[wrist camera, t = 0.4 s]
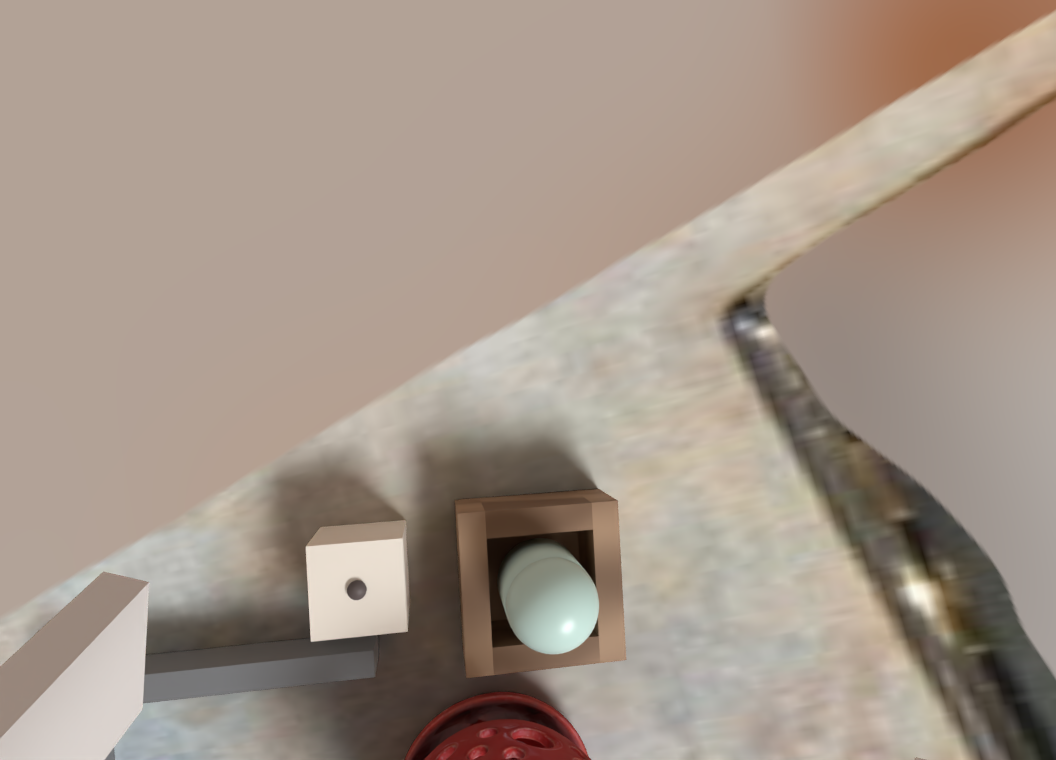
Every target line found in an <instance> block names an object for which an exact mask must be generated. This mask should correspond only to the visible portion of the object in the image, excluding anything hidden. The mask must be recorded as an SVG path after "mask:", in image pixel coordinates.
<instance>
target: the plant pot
mask: <svg viewBox="0 0 1056 760" xmlns="http://www.w3.org/2000/svg"><path fill="white" fill-rule="evenodd" d="M405 760H591V759H590V758H589V757H588V754H587V751H586V748H585V746H584V744H583V742H582V740H581V738H580V736H579V735H578V733H577V731H576V730H575V729H574V727H573V726H572V724H571V723H570V722H569V721H568V720H567V719H566V718H565V717H564V716H563V715H562V714H561V713H559V712H558V711H557V710H556V709H554V708H553V707H551V706H550V705H548V704H546V703H545V702H543V701H540V700H538V699H536V698H533V697H531V696H527V695H524V694H520V693H514V692H494V693H486V694H481V695H477V696H474V697H471V698H468V699H465V700H463V701H461V702H458V703H456V704H454V705H452V706H451V707H449V708H447V709H446V710H444V711H443V712H441V713H440V714H439V715H437V716H436V717H435V718H434V719H433V720H432V721H431V722H429V723H428V724H427V725H426V726H425V728H424V729H423V730H422V731H421V732H420V734H419V735H418V736H417V738H416V739H415V740H414V742H413V744H412V745H411V747H410V749H409V751H408V753H407V755H406V757H405Z"/></svg>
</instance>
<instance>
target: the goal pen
mask: <svg viewBox="0 0 1056 760" xmlns="http://www.w3.org/2000/svg"><path fill="white" fill-rule="evenodd" d="M378 659H379V644H378V635H371V636H362V637H352V638H343V639H333V640H323V641H314V642H311V638H305V639H296V640H286V641H276V642H267V643H257V644H247V645H238V646H228V647H218V648H209V649H199V650H189V651H179V652H170V653H160V654H150V655H145V673H144V692H143V703H150V702H159V701H168V700H177V699H186V698H195V697H203V696H212V695H221V694H230V693H239V692H248V691H257V690H266V689H274V688H283V687H292V686H301V685H310V684H319V683H328V682H337V681H345V680H354V679H363V678H372V677H375V675H376V670H377V665H378ZM105 760H115V756H114V748H113V749H112V751H111V752H110V753H109V755H108V756H107V757H106V759H105Z"/></svg>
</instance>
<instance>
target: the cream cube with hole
mask: <svg viewBox="0 0 1056 760" xmlns="http://www.w3.org/2000/svg"><path fill="white" fill-rule="evenodd" d="M306 563H307V581H308V599H309V618H310V636H311V642H314V641H323V640H333V639H343V638H352V637H362V636H371V635H381V634H391V633H400V632H408V622H409V610H410V589H409V571H408V552H407V534H406V520H400V521H388V522H375V523H363V524H351V525H339V526H326V527H320V528H319V530H318V531H317V532H316V534H315V535H314V536H313V537H312V539H311V540H310V541H309V543H308V544H307V545H306Z"/></svg>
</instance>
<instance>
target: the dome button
mask: <svg viewBox="0 0 1056 760" xmlns="http://www.w3.org/2000/svg"><path fill="white" fill-rule="evenodd" d="M497 585H498V591H499V595H500V598H501V601H502V604H503V607H504V610H505V613H506V616H507V619H508V622H509V624H510V627H511V628H512V630H513V632H514V634H515V635H516V636H517V638H518V639H519V640H520V641H521V642H522V643H524V644H525V645H526V646H528V647H529V648H531V649H533V650H535V651H537V652H540V653H545V654H562V653H566V652H569V651H571V650H573V649H575V648H577V647H578V646H580V645H581V644H582V643H583V642H584V641H585V640H586V639H587V638H588V637H589V635H590V634H591V633H592V631H593V629H594V627H595V624H596V622H597V618H598V613H599V599H598V593H597V589H596V587H595V584H594V583H593V581H592V579H591V577H590V576H589V575H588V573H587V572H586V571H585V570H584V568H583V567H582V566H581V565H580V563H579V562H578V561H577V560H576V559H575V557H574V556H573V555H572V554H571V553H570V551H569V550H568V549H567V548H566V547H564V546H563V545H562V544H560V543H558V542H556V541H554V540H551V539H547V538H533V539H529V540H525V541H523V542H521V543H519V544H518V545H516V546H515V547H513V548H512V549H511V550H510V551H509V552H508V553H507V555H506V556H505V557H504V559H503V561H502V563H501V565H500V567H499V571H498V577H497Z"/></svg>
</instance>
